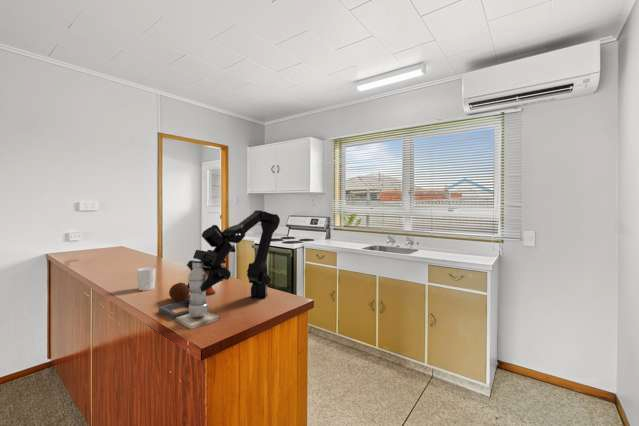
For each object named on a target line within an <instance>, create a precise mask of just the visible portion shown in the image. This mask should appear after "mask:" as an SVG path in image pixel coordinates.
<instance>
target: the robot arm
mask: <svg viewBox="0 0 639 426" xmlns="http://www.w3.org/2000/svg"><path fill="white" fill-rule="evenodd" d="M280 222H281V218H280V216H279V215H278V214H277V213H276V214H275V213H270V212H268V211H266V210H259V209H257V210H254V211H253V213H251V214H250V215H249V216H247V217H246V218H244V219H243V220H241V221H240V222H239V223H237V224H235V225H232V226H228V227H227V228H225V229H223V231H222V230H221V229H220V227H219V226H218V225H217V224H213V225H211V226H210V227H208V228H206V229H205V230H203V232H202V233H201V238H203V239H204V241H206V242H207V244H208V245H209V246H210V247H212V248H214V249H208V250H207V251H206V250H200V249H195V251H194V255H193V260H189V261H188V262H187V264H186V266H187V267H188V269H189V270H190V272H191V271H192V270H193V268H192V266H193V262H195V261H196V260H198V261H203V265H204V267H203V269H204V270H205V271H206V272H209V276H208V278H207V280H206V281H205V283H204V284H203V286H202V288H201V291H202V292H203V291H205V290H207V289H208V288H210V287H211V286H212V287H213V286H215V285H216V284H219V283H220V282H223V281H224V280H225V281H228V280H229V279H230V277H231V276H232V275H231V274H232V273H231V271H230V270H229V269H228V268H227V267H226V266H225V264H226V262H227V260H226V259H227V257H228V256H229V254H230V253H236V247H235V245H234V244H239V243H241V242H242V240H243V239H244V238H245V236H246V234H247V232H248V231H250V230H251V229H252V228H254V227H255V226H256V225H257V224H259V223H260V226H261V230H262V232H261V235H260V240H259V243H258V247H257V251H256V254H255V258H254V261H253V262H252V263H251V262H250V263H248V268H247V270H246V277H247V278H248V283H249V284H251V286H250V299H263V300H264V299H266V298H267V297H268V295H269V293H268V285H270V284H271V280H272V278H271V277H270V276H269V275H268V266H267V264H266V262H267V259H268V258H267V257H268V254H269V250H270V247H271V243H272V238H273V234H274V232H276V231H277V229H278V228H279V224H280ZM231 243H233V245H232V244H231ZM194 259H195V260H194ZM222 264H223V265H222ZM186 285H187V287H188V288H189V289H190V287H189V281H188V282H187V284H186Z"/></svg>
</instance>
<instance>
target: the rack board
mask: <svg viewBox="0 0 639 426" xmlns="http://www.w3.org/2000/svg"><path fill="white" fill-rule="evenodd" d="M220 319H221V317H220V315H217V314H215V313H213V312H210V311H209V310H208V311H207V314H206V315H205V316H203V317H199V318H193V317H190V315H189V314H186V315H183V316H179V317H176V318H175V320H174V321H175V322H177V323H179V324H180V325H182V326H185V327H186V328H189V329H190V330H192V329H196V328H199V327H202V326H205V325H208V324H211V323H214V322H216V321H220Z"/></svg>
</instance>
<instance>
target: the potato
mask: <svg viewBox="0 0 639 426" xmlns="http://www.w3.org/2000/svg"><path fill="white" fill-rule="evenodd" d="M187 285H188V284H186V283H184V282H177V283H175V284H172V286H171V287H170V289H169V290H168V295H169V297H170V298H171V299H172V300H173V301H175V302H176V303H177V302H181V301H185V300H188V299H187V298H188V297H189V296H190V288H188V287H187Z"/></svg>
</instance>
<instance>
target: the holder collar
mask: <svg viewBox="0 0 639 426" xmlns="http://www.w3.org/2000/svg"><path fill="white" fill-rule="evenodd" d="M189 304H190V298H189V299H186V300H185V301H181V302H177V301H176V302H173V303H169V304H165V305H162V306H158V313H160V314H162V315H163V316H165V317H167V318H169V319H171V320H172V321H175V318H176V317H179V316H183V315H186V314H189V312H188V309H185V310H182V311H177V312H175V311H173V310H175V309H176V310H177V309H179V308H183V307H184V308H185V307H187V306H188V307H189Z"/></svg>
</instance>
